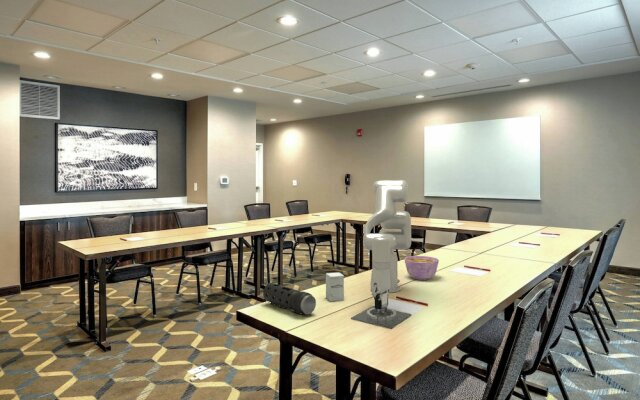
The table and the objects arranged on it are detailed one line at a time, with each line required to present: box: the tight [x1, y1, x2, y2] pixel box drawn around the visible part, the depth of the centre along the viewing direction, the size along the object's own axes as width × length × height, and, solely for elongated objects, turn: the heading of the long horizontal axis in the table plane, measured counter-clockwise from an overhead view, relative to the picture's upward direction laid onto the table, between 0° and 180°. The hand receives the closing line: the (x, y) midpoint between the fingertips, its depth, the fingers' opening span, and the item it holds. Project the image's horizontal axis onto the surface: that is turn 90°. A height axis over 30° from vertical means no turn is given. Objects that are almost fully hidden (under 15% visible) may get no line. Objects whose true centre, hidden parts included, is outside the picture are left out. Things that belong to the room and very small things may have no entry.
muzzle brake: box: [262, 282, 317, 316], centre depth 178 cm, size 10×28×10 cm, turn 44°
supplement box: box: [325, 272, 345, 303], centre depth 193 cm, size 7×7×13 cm
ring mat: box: [350, 305, 412, 330], centre depth 167 cm, size 19×19×2 cm
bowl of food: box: [404, 255, 440, 281], centre depth 230 cm, size 20×20×12 cm
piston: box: [376, 291, 388, 313], centre depth 167 cm, size 5×5×8 cm
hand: (381, 306), depth 167 cm, fingers closed on piston, 5 cm apart
